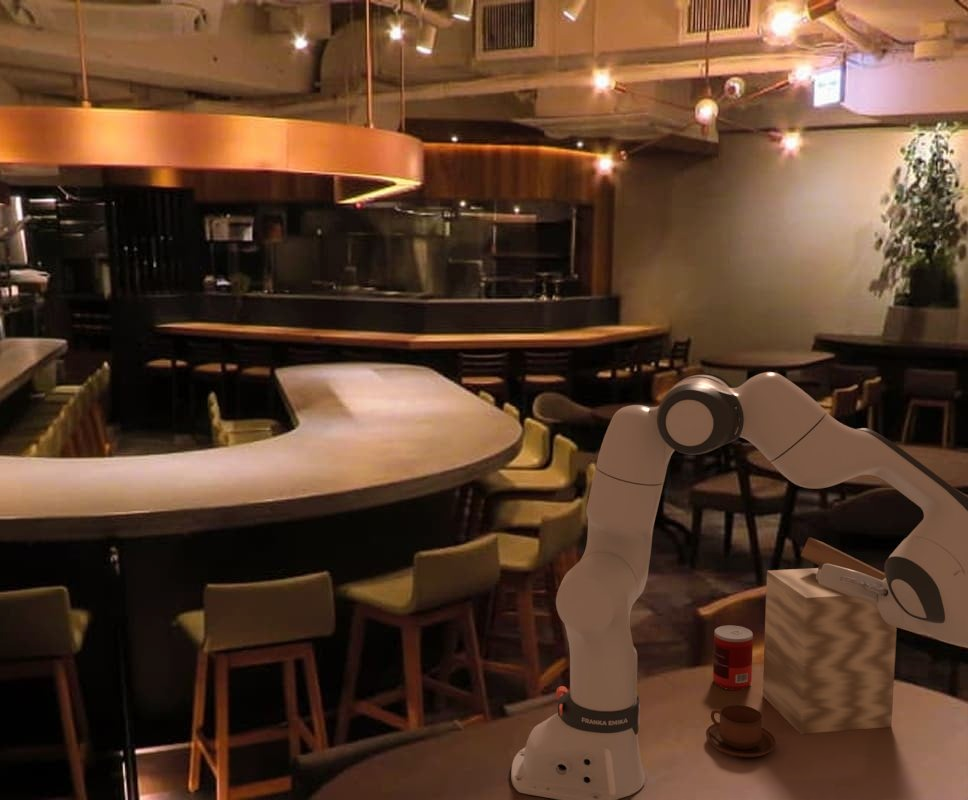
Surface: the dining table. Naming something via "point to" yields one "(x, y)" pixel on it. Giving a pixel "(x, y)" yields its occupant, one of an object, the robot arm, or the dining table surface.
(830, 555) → the walnut block
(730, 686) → the canned food
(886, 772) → the dining table surface
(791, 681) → the zigzag patterned box
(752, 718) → the cup and saucer
